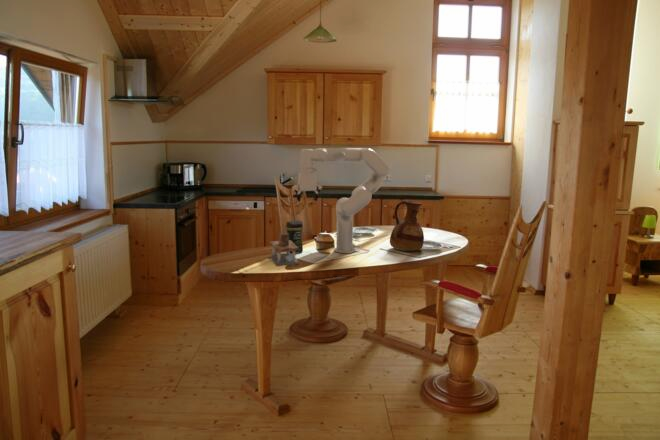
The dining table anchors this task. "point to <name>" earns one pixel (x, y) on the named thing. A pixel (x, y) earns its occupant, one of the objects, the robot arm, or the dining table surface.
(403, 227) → the ceramic pitcher
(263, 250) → the dining table surface
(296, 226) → the coffee jar
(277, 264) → the peg stand
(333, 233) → the dining table surface
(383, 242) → the dining table surface
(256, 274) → the dining table surface
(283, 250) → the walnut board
